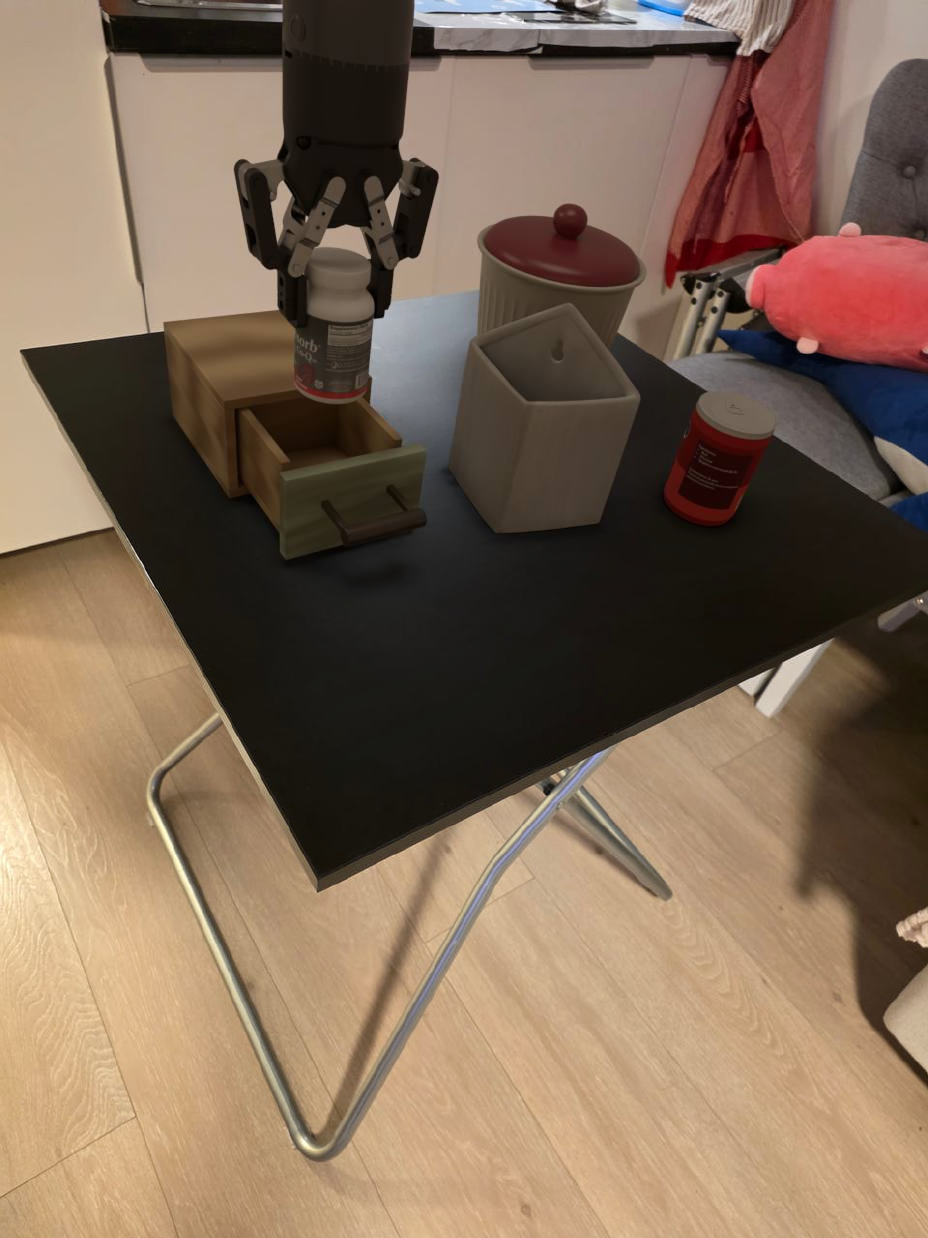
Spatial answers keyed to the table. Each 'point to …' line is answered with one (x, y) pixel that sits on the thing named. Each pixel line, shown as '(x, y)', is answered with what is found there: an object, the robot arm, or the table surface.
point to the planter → (541, 423)
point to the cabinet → (228, 380)
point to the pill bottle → (335, 328)
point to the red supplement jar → (718, 457)
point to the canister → (555, 272)
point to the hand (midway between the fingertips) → (334, 317)
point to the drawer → (328, 473)
